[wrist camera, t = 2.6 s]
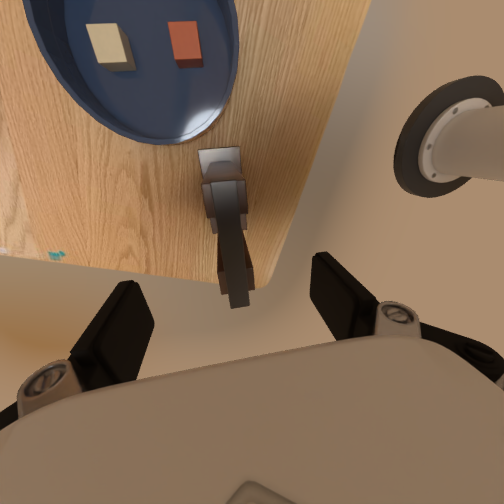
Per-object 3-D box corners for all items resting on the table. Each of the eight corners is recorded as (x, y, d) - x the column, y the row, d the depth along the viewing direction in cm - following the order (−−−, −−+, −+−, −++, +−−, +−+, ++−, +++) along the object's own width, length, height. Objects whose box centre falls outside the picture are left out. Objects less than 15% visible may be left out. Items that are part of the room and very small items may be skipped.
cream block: (127, 36, 23) (116, 22, 21) (136, 70, 25) (127, 61, 22) (100, 37, 23) (84, 23, 20) (110, 72, 24) (97, 63, 22)
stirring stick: (234, 175, 13) (236, 179, 12) (247, 293, 18) (250, 306, 17) (210, 178, 13) (209, 182, 12) (229, 296, 18) (230, 309, 17)
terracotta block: (198, 34, 24) (196, 20, 21) (203, 67, 25) (201, 58, 23) (172, 35, 24) (167, 21, 21) (179, 68, 25) (174, 59, 22)
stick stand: (238, 146, 30) (266, 147, 13) (246, 227, 37) (272, 302, 19) (198, 149, 30) (169, 155, 12) (212, 231, 36) (207, 312, 19)
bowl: (223, -74, 21) (225, -139, 16) (242, 139, 30) (246, 137, 25) (20, -76, 19) (-46, -151, 14) (105, 150, 28) (82, 151, 23)
